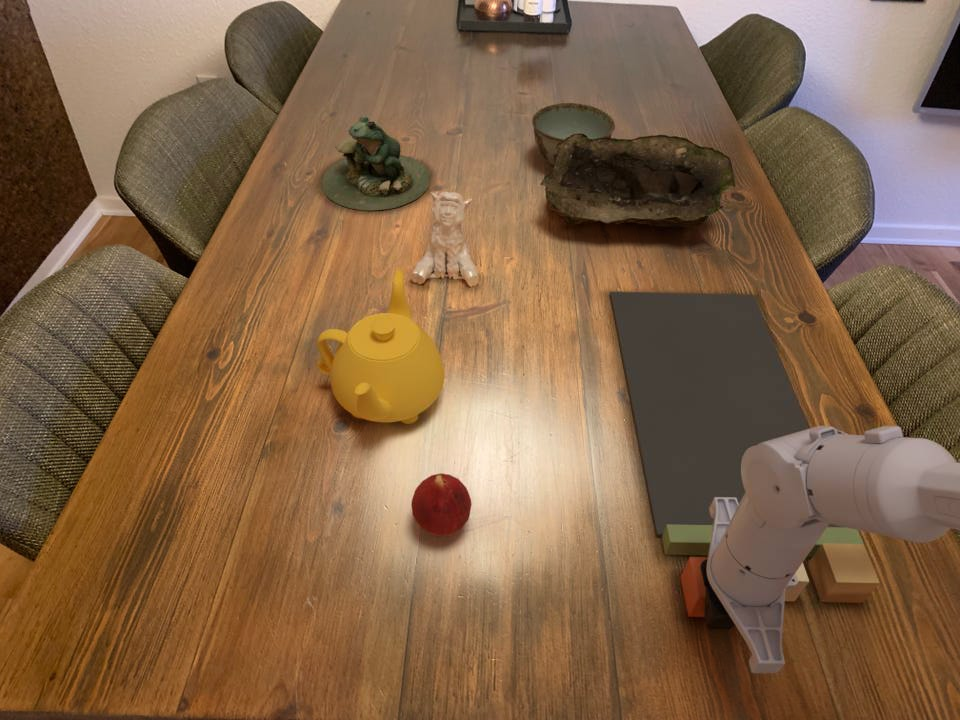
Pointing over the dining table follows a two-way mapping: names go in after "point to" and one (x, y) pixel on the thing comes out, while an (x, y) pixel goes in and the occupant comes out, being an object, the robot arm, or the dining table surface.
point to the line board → (702, 404)
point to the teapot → (384, 364)
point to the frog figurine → (374, 171)
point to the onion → (441, 504)
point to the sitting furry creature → (447, 243)
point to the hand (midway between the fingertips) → (717, 622)
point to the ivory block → (802, 582)
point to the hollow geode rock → (637, 180)
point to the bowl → (568, 126)
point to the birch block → (843, 573)
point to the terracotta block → (694, 587)
